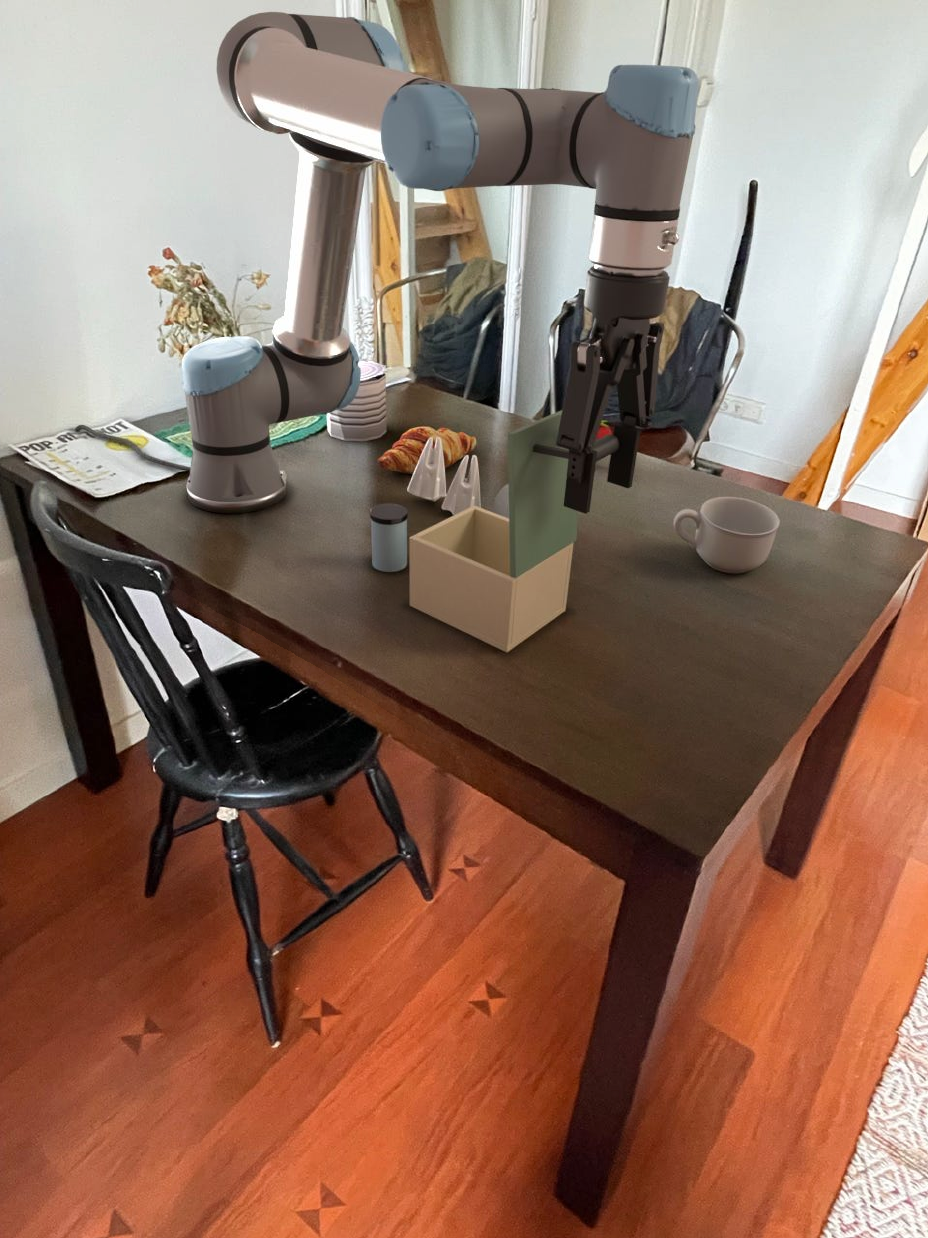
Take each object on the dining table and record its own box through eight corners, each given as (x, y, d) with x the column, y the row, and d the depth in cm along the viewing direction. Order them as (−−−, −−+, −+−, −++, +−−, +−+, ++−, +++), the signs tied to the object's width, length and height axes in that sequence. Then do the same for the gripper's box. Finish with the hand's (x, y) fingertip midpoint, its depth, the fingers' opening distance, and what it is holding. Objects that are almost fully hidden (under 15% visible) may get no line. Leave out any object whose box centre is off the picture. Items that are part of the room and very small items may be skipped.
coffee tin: (364, 566, 114) (362, 513, 110) (384, 551, 118) (383, 500, 113) (394, 575, 112) (394, 522, 108) (414, 561, 116) (414, 508, 111)
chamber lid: (507, 432, 84) (571, 444, 80) (574, 404, 93) (636, 413, 88) (509, 576, 92) (568, 595, 88) (571, 538, 101) (628, 553, 96)
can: (384, 442, 153) (383, 378, 147) (323, 440, 153) (319, 376, 146) (388, 421, 163) (387, 360, 156) (330, 419, 162) (327, 358, 156)
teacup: (768, 553, 121) (781, 503, 117) (765, 588, 113) (779, 536, 108) (672, 536, 125) (682, 487, 121) (662, 569, 116) (672, 517, 112)
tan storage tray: (409, 605, 106) (409, 537, 100) (471, 570, 114) (474, 505, 109) (506, 652, 98) (512, 581, 92) (565, 610, 106) (573, 542, 101)
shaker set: (405, 501, 132) (405, 435, 126) (421, 492, 135) (421, 427, 129) (468, 521, 127) (471, 453, 121) (482, 512, 130) (486, 445, 124)
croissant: (463, 462, 155) (451, 420, 154) (497, 453, 147) (485, 408, 146) (371, 488, 143) (358, 442, 141) (403, 479, 135) (389, 430, 133)
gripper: (605, 289, 67) (575, 540, 79) (716, 260, 81) (675, 477, 93) (530, 275, 71) (512, 516, 83) (647, 249, 85) (617, 459, 97)
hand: (598, 495), depth 88 cm, fingers open, 8 cm apart
